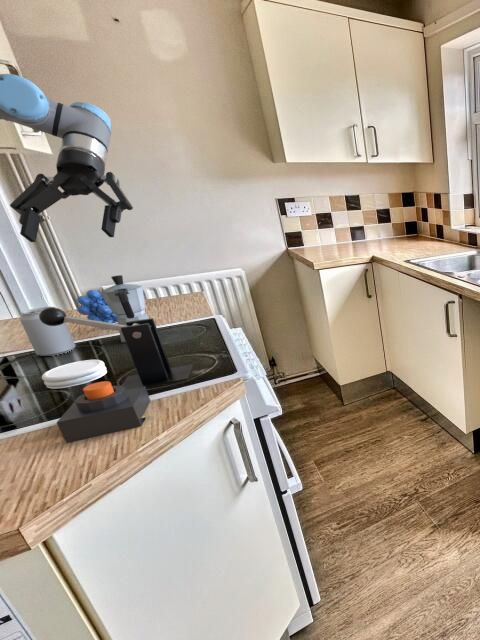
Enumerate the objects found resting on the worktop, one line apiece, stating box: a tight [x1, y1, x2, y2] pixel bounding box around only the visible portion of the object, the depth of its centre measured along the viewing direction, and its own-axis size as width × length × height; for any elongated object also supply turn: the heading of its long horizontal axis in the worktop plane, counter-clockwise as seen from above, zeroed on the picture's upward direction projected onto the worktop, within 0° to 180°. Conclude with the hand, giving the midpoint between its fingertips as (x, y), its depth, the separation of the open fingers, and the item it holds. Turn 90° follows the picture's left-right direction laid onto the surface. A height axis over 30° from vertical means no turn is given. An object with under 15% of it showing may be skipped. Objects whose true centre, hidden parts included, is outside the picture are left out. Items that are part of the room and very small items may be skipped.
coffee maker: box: [99, 274, 150, 343], centre depth 117 cm, size 15×9×18 cm, turn 42°
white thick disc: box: [41, 359, 108, 390], centre depth 93 cm, size 10×10×4 cm
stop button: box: [82, 380, 114, 400], centre depth 75 cm, size 4×4×2 cm
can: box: [19, 306, 77, 357], centre depth 109 cm, size 8×8×12 cm
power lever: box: [39, 307, 151, 331], centre depth 85 cm, size 16×4×4 cm, turn 118°
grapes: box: [76, 289, 118, 324], centre depth 129 cm, size 12×7×12 cm, turn 134°
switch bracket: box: [121, 317, 195, 390], centre depth 90 cm, size 12×9×14 cm
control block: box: [56, 385, 151, 444], centre depth 76 cm, size 10×9×6 cm
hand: (68, 235), depth 89 cm, fingers open, 13 cm apart
